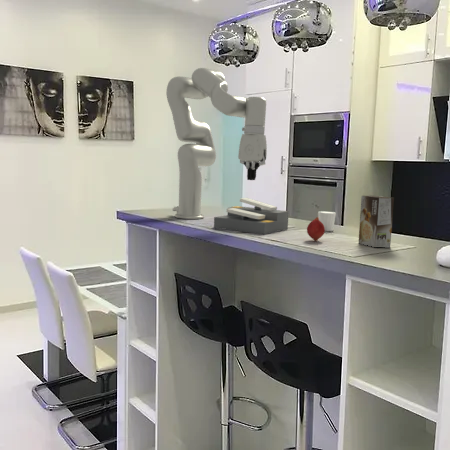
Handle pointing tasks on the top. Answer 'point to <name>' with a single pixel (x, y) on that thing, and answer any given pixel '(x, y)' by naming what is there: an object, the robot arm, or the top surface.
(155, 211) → the top surface
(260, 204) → the rear rocker
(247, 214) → the bar
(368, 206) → the coffee box
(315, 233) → the onion
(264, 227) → the switch console
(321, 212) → the white cup
